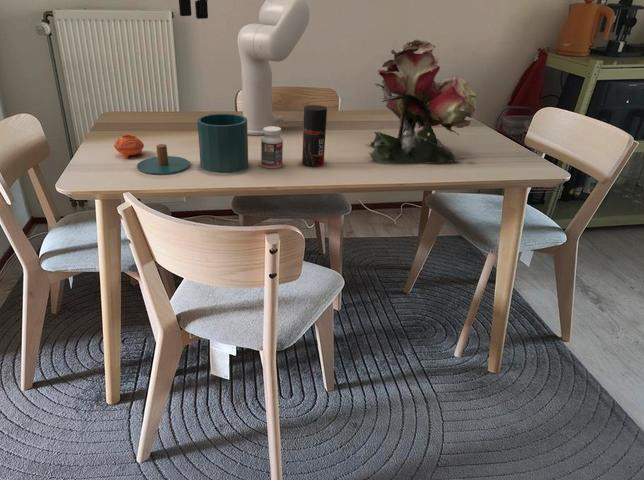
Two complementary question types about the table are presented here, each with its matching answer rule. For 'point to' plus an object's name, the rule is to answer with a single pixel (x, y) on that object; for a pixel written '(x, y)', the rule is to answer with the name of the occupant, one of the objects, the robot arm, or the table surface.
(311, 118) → the deodorant
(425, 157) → the rose bouquet
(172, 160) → the lid
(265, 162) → the pill bottle
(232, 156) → the tin
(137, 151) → the pot
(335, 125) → the table surface
